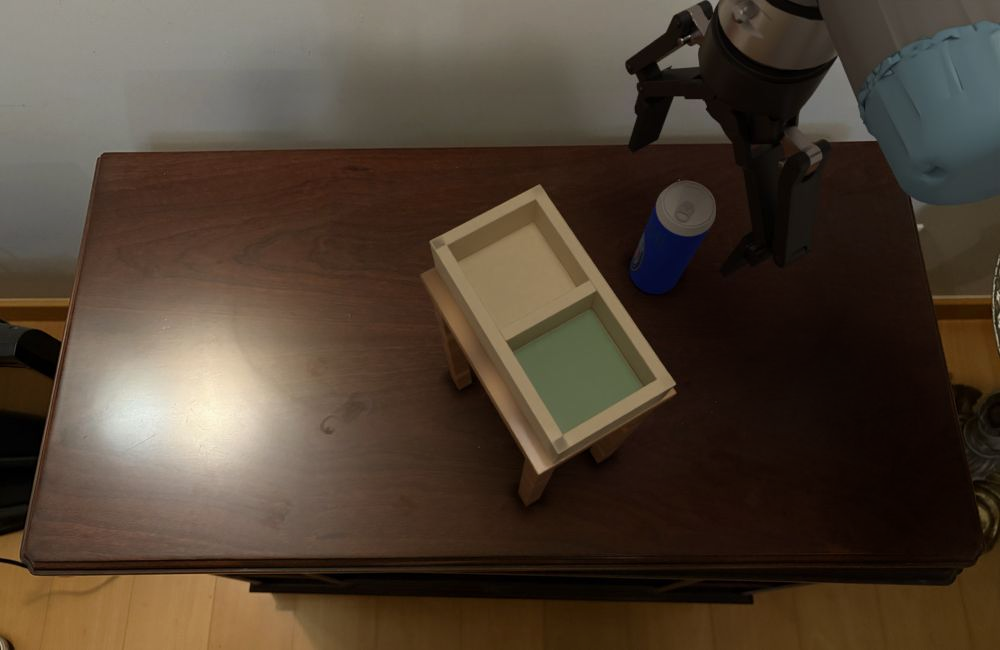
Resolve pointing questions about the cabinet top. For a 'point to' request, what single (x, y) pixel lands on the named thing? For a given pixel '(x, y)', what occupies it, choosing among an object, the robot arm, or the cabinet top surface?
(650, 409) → the shelf
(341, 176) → the cabinet top surface
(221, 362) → the cabinet top surface
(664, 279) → the beverage can
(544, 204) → the tray
